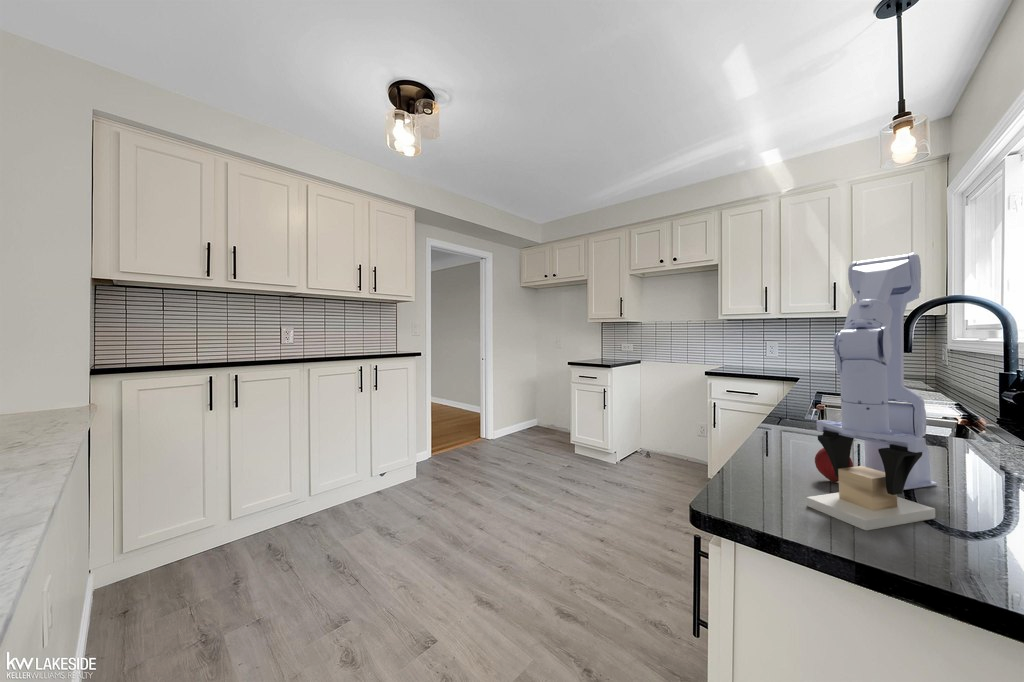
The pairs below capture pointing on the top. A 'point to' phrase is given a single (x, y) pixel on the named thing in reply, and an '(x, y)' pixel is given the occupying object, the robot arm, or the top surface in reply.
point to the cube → (865, 488)
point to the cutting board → (870, 512)
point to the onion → (826, 465)
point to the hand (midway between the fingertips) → (867, 484)
